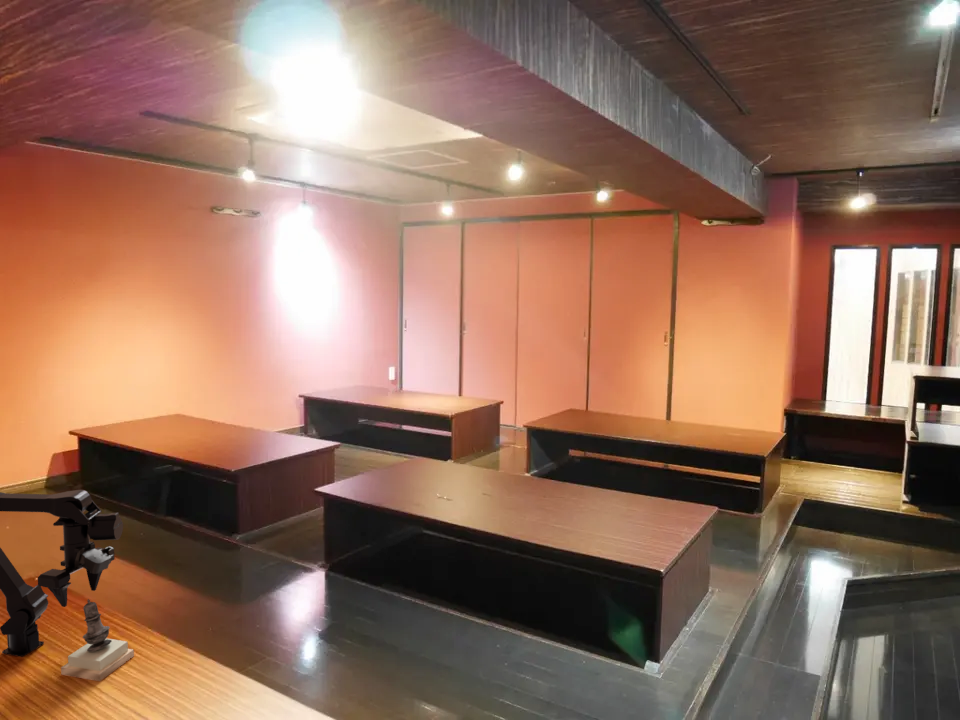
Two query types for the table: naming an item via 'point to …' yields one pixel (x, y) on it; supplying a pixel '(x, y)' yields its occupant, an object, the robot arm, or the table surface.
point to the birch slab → (93, 673)
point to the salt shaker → (95, 628)
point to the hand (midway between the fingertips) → (79, 598)
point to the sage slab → (97, 655)
